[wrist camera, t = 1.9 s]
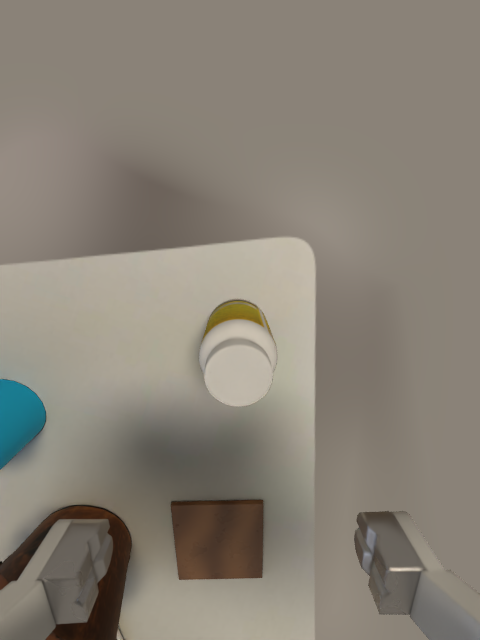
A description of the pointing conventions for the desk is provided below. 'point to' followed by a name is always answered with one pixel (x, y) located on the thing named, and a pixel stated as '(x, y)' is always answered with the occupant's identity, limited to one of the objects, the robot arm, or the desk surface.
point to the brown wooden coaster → (218, 539)
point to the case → (103, 621)
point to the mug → (18, 418)
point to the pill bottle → (238, 353)
